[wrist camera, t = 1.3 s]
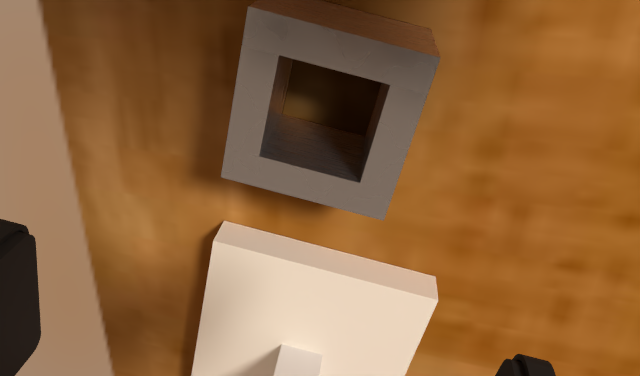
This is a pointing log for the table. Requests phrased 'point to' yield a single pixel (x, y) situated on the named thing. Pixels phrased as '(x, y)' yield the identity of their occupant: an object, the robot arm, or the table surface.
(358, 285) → the post plinth
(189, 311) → the table surface
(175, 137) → the table surface
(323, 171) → the collar
